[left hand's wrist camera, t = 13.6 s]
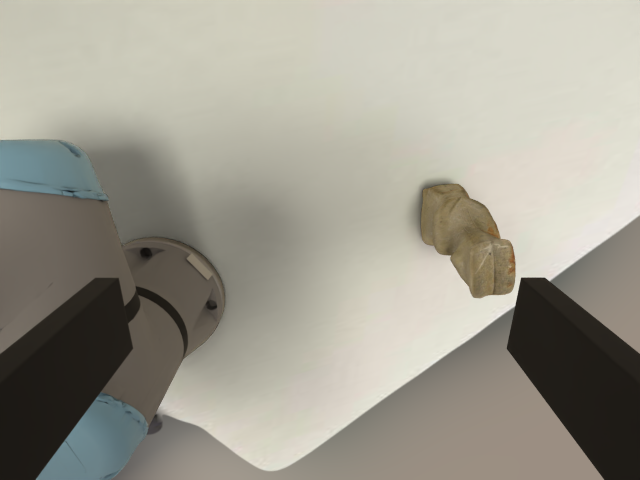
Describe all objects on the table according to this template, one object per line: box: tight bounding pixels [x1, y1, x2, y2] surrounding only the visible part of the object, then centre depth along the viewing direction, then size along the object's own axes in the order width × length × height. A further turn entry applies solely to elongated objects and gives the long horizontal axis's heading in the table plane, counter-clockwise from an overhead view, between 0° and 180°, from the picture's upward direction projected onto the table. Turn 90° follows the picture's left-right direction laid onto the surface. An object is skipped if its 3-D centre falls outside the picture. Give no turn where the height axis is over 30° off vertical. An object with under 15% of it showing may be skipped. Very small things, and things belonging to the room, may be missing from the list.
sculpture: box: [421, 184, 515, 298], centre depth 36 cm, size 6×7×15 cm
